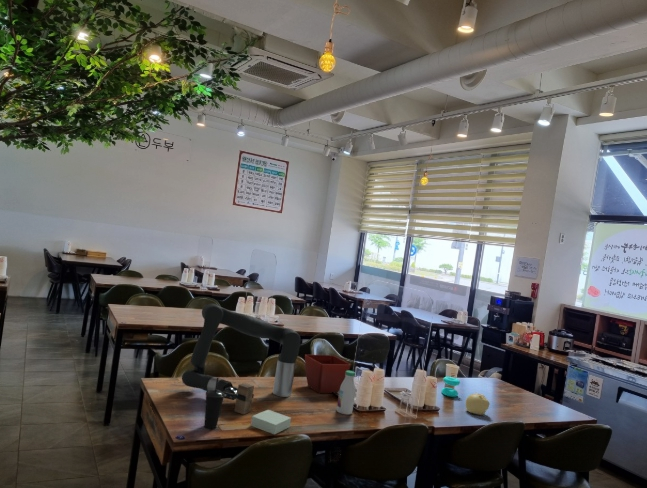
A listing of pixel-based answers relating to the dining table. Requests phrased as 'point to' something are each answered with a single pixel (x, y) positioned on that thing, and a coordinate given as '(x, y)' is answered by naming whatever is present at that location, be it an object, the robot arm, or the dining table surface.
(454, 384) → the donuts
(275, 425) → the base slab
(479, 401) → the pale yellow round lump
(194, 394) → the dining table surface
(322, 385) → the plant pot
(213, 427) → the drinking cup
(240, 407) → the walnut block
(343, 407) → the milk bottle
